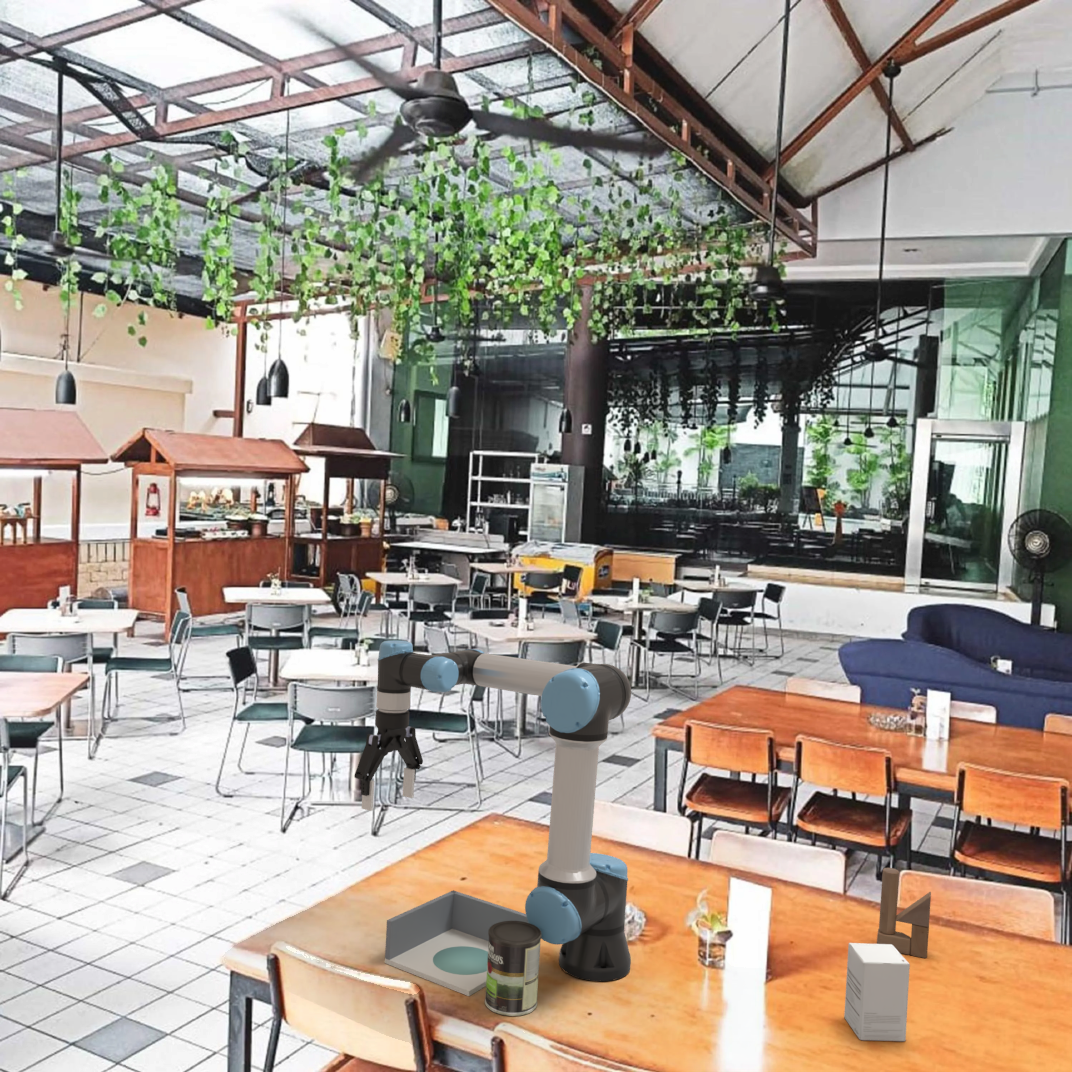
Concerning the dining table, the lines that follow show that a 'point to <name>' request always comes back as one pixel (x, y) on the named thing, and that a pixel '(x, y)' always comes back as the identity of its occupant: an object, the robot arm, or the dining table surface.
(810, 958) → the dining table surface
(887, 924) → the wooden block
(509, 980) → the coffee can
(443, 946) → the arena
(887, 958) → the supplement box
